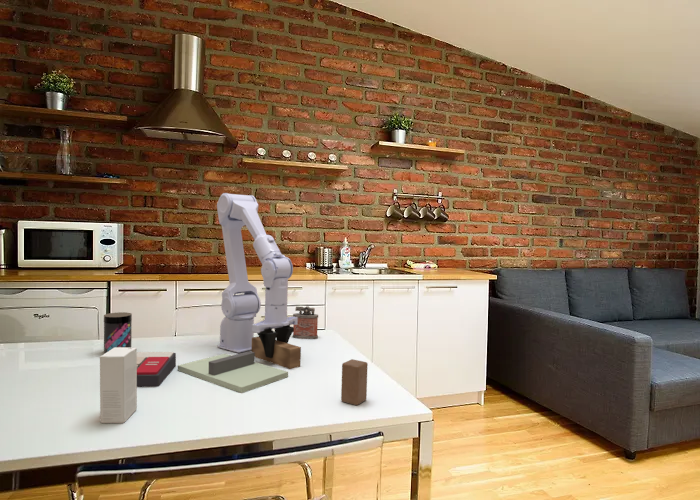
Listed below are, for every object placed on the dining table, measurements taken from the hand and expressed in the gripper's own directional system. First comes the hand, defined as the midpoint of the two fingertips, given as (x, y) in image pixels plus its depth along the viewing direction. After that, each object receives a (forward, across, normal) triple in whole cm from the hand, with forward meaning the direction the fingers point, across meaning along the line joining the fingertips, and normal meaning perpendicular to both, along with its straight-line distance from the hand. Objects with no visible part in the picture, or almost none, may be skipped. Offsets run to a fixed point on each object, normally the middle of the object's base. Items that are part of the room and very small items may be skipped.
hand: (275, 355), depth 120 cm
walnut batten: (+2, 0, 0) cm, 2 cm away
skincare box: (+2, -43, -4) cm, 43 cm away
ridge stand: (+1, -14, 0) cm, 14 cm away
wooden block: (+2, -9, -32) cm, 33 cm away
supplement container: (+2, -23, +36) cm, 43 cm away
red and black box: (+2, -28, +14) cm, 32 cm away
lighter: (+2, +24, +11) cm, 26 cm away
